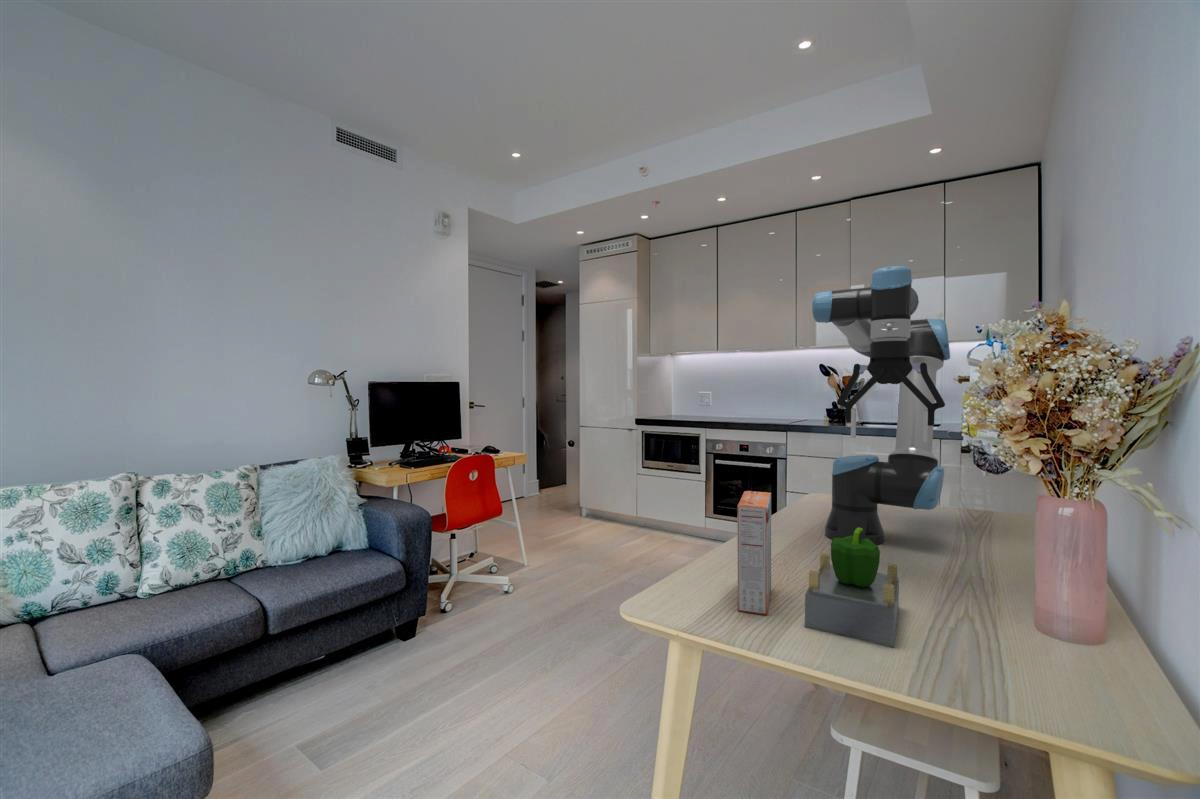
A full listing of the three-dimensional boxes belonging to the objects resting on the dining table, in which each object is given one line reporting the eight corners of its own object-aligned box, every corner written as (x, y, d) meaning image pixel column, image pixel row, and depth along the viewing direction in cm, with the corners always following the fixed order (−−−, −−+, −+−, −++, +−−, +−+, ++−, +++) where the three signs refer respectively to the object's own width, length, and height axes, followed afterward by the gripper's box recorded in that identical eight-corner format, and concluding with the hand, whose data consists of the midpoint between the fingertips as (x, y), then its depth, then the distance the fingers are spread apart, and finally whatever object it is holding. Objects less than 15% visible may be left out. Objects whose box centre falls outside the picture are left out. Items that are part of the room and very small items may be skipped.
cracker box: (742, 585, 114) (743, 489, 114) (771, 589, 112) (773, 491, 111) (734, 611, 101) (735, 503, 100) (767, 616, 99) (769, 506, 98)
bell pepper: (857, 594, 93) (858, 538, 93) (821, 578, 101) (821, 526, 100) (890, 586, 96) (891, 532, 96) (853, 572, 104) (853, 521, 104)
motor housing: (824, 588, 113) (824, 545, 112) (899, 602, 105) (900, 557, 105) (804, 626, 95) (805, 576, 95) (893, 647, 87) (894, 592, 87)
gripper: (824, 342, 116) (823, 437, 117) (961, 336, 103) (958, 445, 104) (829, 344, 122) (828, 434, 123) (959, 339, 109) (957, 441, 110)
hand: (888, 439), depth 113 cm, fingers open, 13 cm apart
